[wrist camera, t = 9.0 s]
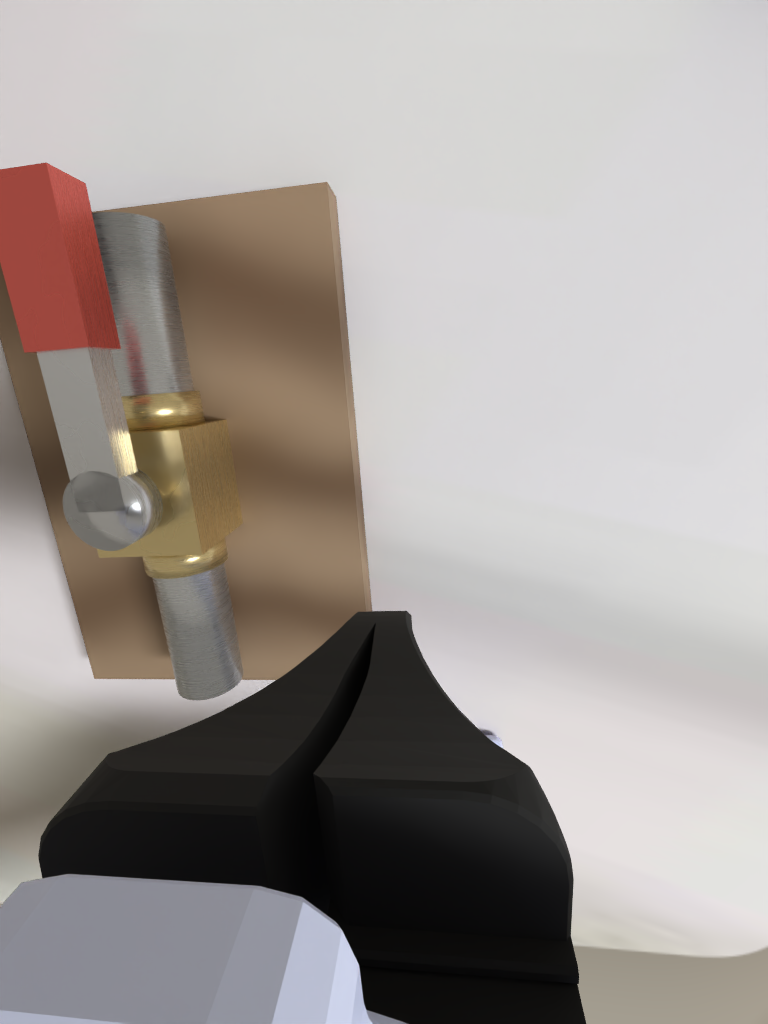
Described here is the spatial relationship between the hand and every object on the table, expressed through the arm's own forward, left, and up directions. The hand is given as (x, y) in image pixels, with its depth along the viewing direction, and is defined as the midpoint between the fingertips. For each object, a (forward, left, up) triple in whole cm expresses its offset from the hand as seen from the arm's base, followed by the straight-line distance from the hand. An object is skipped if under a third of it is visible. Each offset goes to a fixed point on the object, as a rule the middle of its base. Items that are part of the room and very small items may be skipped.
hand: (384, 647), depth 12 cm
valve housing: (+3, +9, -9) cm, 13 cm away
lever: (+7, +9, -4) cm, 12 cm away
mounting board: (+3, +9, -10) cm, 14 cm away
